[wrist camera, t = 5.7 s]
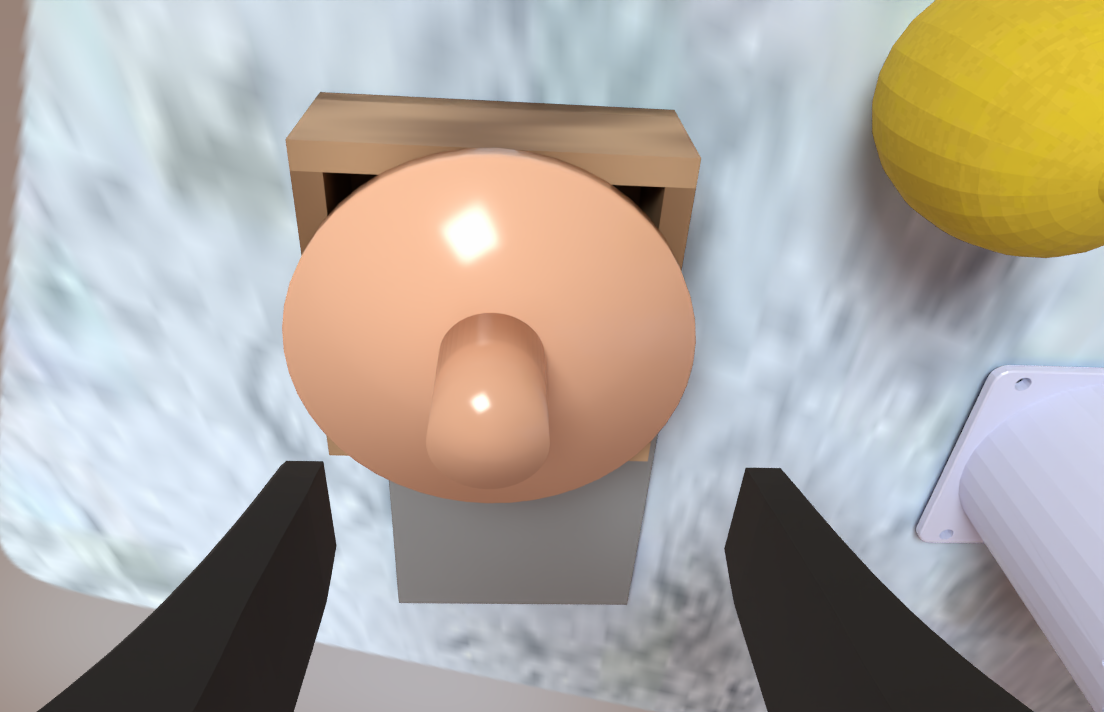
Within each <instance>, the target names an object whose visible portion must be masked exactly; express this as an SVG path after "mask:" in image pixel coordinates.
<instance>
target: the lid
mask: <svg viewBox="0 0 1104 712" xmlns="http://www.w3.org/2000/svg"><path fill="white" fill-rule="evenodd" d="M282 333H283V345H284V354H285V358H286V362H287V366H288V370H289V374H290V376H291V379H292V381H293V384H294V386H295V389H296V391H297V394H298V395H299V397H300V399H301V401H302V402H303V404H304V406H305V407H306V409H307V411H308V413H309V414H310V415H311V417H312V418H313V419H314V421H315V422H316V423H317V424H318V426H319V427H320V428H321V430H322V431H323V432H324V433H325V434H326V435H327V436H328V437H329V438H330V439H331V440H332V441H333V442H334V443H335V444H336V445H337V446H338V447H339V448H340V449H341V450H343V451H344V452H345V453H347V454H348V455H349V456H350V457H352V458H353V459H354V460H355V461H357V462H358V463H360V464H361V465H363V466H365V467H366V468H368V469H369V470H371V471H373V472H374V473H376V474H378V475H380V476H382V477H384V478H386V479H388V480H390V481H392V482H394V483H396V484H398V485H401V486H404V487H407V488H409V489H412V490H415V491H418V492H421V493H424V494H428V495H432V496H436V497H440V498H445V499H451V500H457V501H463V502H476V503H513V502H521V501H529V500H536V499H541V498H545V497H550V496H554V495H558V494H561V493H564V492H567V491H571V490H574V489H577V488H579V487H582V486H584V485H586V484H588V483H591V482H593V481H595V480H598V479H600V478H601V477H603V476H605V475H607V474H608V473H610V472H612V471H614V470H615V469H617V468H619V467H620V466H622V465H623V464H624V463H626V462H627V461H628V460H630V459H631V458H632V457H634V456H635V455H636V454H638V453H639V452H640V451H641V450H642V449H643V448H644V447H645V446H646V445H647V444H648V443H649V442H650V441H652V440H653V438H654V437H655V436H656V435H657V434H658V432H659V431H660V430H661V429H662V428H663V426H664V425H665V424H666V423H667V421H668V420H669V418H670V417H671V415H672V413H673V412H674V410H675V409H676V407H677V406H678V404H679V401H680V399H681V397H682V395H683V393H684V390H685V388H686V386H687V383H688V379H689V376H690V372H691V369H692V365H693V359H694V351H695V343H696V339H695V318H694V313H693V307H692V302H691V297H690V294H689V292H688V289H687V286H686V283H685V280H684V278H683V275H682V272H681V269H680V267H679V264H678V261H677V259H676V257H675V255H674V253H673V251H672V250H671V248H670V246H669V244H668V242H667V240H666V239H665V237H664V236H663V234H662V233H661V232H660V230H659V229H658V228H657V226H656V225H655V224H654V222H653V221H652V220H651V219H650V217H649V216H648V215H647V214H646V213H645V212H644V211H643V210H642V209H641V208H640V207H639V206H638V205H637V204H636V203H635V202H633V201H632V200H631V199H630V198H629V197H628V196H626V195H625V194H624V193H622V192H621V191H619V190H618V189H617V188H615V187H614V186H613V185H611V184H610V183H609V182H607V181H605V180H603V179H601V178H599V177H598V176H596V175H594V174H592V173H590V172H589V171H587V170H585V169H583V168H580V167H578V166H575V165H572V164H570V163H567V162H565V161H562V160H560V159H557V158H553V157H549V156H545V155H541V154H537V153H533V152H529V151H521V150H512V149H503V148H466V149H459V150H452V151H445V152H438V153H435V154H431V155H427V156H424V157H420V158H417V159H413V160H410V161H407V162H405V163H403V164H400V165H398V166H396V167H393V168H391V169H389V170H386V171H384V172H382V173H380V174H379V175H377V176H376V177H374V178H372V179H371V180H369V181H367V182H366V183H364V184H362V185H361V186H359V187H358V188H357V189H356V190H354V191H353V192H352V193H351V194H349V195H348V196H347V197H346V198H345V199H343V200H342V201H341V202H340V203H339V204H338V205H337V206H336V207H335V208H334V209H333V210H332V211H331V213H330V214H329V215H328V216H327V217H326V218H325V219H324V220H323V221H322V223H321V224H320V226H319V227H318V229H317V230H316V232H315V233H314V235H313V236H312V238H311V240H310V241H309V243H308V244H307V246H306V248H305V250H304V252H303V254H302V256H301V258H300V260H299V263H298V265H297V267H296V270H295V272H294V274H293V276H292V279H291V281H290V284H289V288H288V292H287V296H286V300H285V304H284V312H283V324H282Z"/></svg>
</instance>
